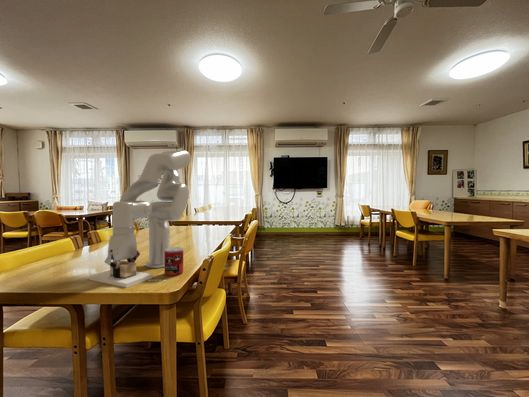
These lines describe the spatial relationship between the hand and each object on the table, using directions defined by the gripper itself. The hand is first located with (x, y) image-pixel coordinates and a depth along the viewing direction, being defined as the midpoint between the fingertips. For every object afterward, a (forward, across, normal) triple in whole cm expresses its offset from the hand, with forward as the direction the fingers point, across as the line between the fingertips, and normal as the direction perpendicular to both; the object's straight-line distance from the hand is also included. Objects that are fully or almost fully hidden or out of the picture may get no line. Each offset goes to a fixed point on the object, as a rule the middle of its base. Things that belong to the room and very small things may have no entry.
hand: (123, 275), depth 100 cm
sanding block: (0, 0, 0) cm, 0 cm away
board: (+2, 0, -1) cm, 2 cm away
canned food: (+2, -14, +13) cm, 20 cm away
